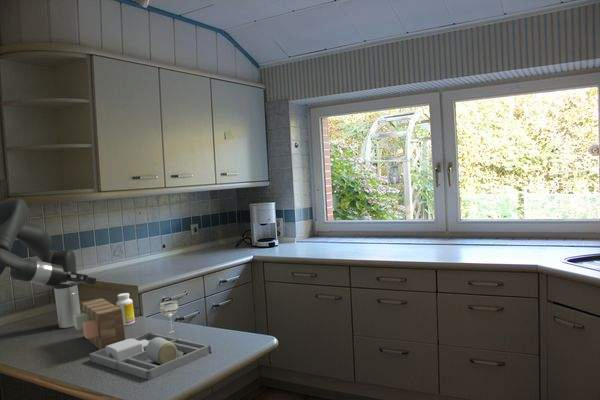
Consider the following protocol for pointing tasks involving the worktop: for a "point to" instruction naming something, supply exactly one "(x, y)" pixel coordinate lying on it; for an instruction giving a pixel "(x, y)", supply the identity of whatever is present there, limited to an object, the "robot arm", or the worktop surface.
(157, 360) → the ceramic mug
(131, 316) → the supplement bottle
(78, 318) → the button sage
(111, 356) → the charger
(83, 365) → the worktop surface
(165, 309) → the wineglass
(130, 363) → the counter rail frame
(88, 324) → the button terracotta
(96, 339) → the panel
